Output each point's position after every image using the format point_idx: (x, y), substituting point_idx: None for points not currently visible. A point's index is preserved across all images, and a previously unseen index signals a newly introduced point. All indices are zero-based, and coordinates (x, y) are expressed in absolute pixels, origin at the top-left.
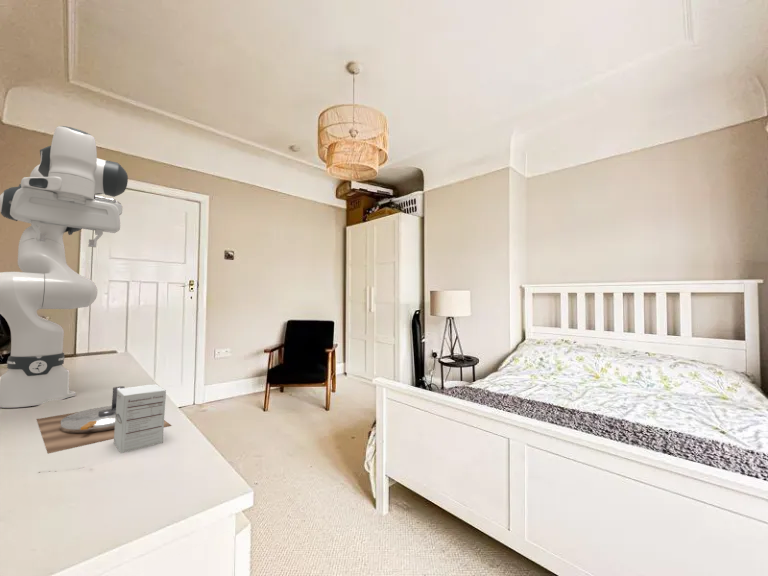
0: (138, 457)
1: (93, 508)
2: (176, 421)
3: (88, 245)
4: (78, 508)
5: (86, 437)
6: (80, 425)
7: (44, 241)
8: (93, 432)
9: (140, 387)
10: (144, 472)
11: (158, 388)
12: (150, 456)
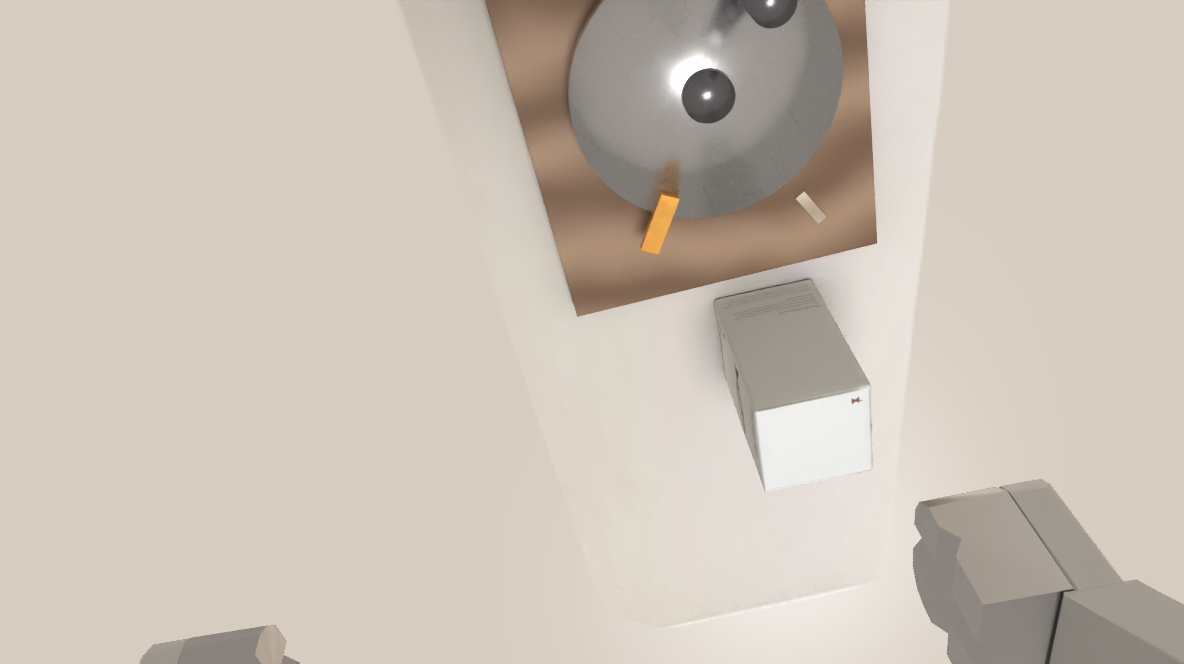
0: None
1: (679, 531)
2: (914, 124)
3: (925, 518)
4: (659, 523)
5: None
6: (635, 197)
7: (287, 659)
8: None
9: (817, 424)
10: None
11: (859, 451)
12: None
